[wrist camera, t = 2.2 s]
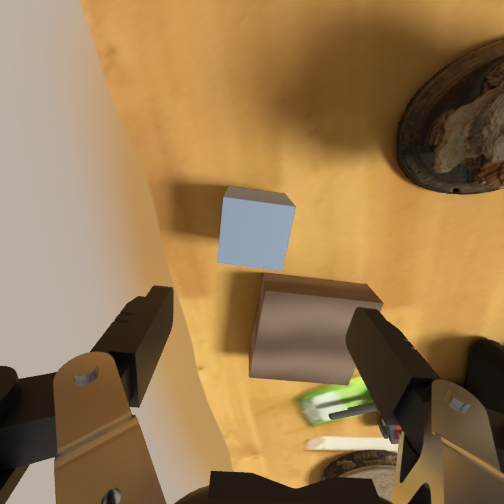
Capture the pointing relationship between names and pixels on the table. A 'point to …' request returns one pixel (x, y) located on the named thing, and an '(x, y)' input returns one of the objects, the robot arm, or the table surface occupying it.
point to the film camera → (487, 374)
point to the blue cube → (255, 228)
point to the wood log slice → (367, 469)
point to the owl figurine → (457, 126)
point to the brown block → (305, 328)
